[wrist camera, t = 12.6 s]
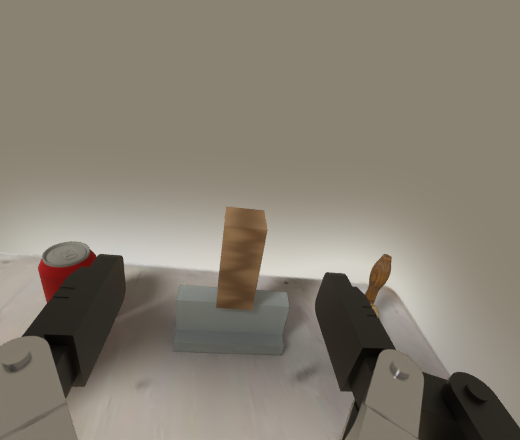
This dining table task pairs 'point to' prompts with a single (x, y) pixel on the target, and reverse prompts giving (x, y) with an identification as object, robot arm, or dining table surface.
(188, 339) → the ridge
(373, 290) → the hand bell
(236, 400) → the dining table surface
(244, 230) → the walnut post
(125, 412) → the dining table surface
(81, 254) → the beverage can
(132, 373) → the dining table surface
